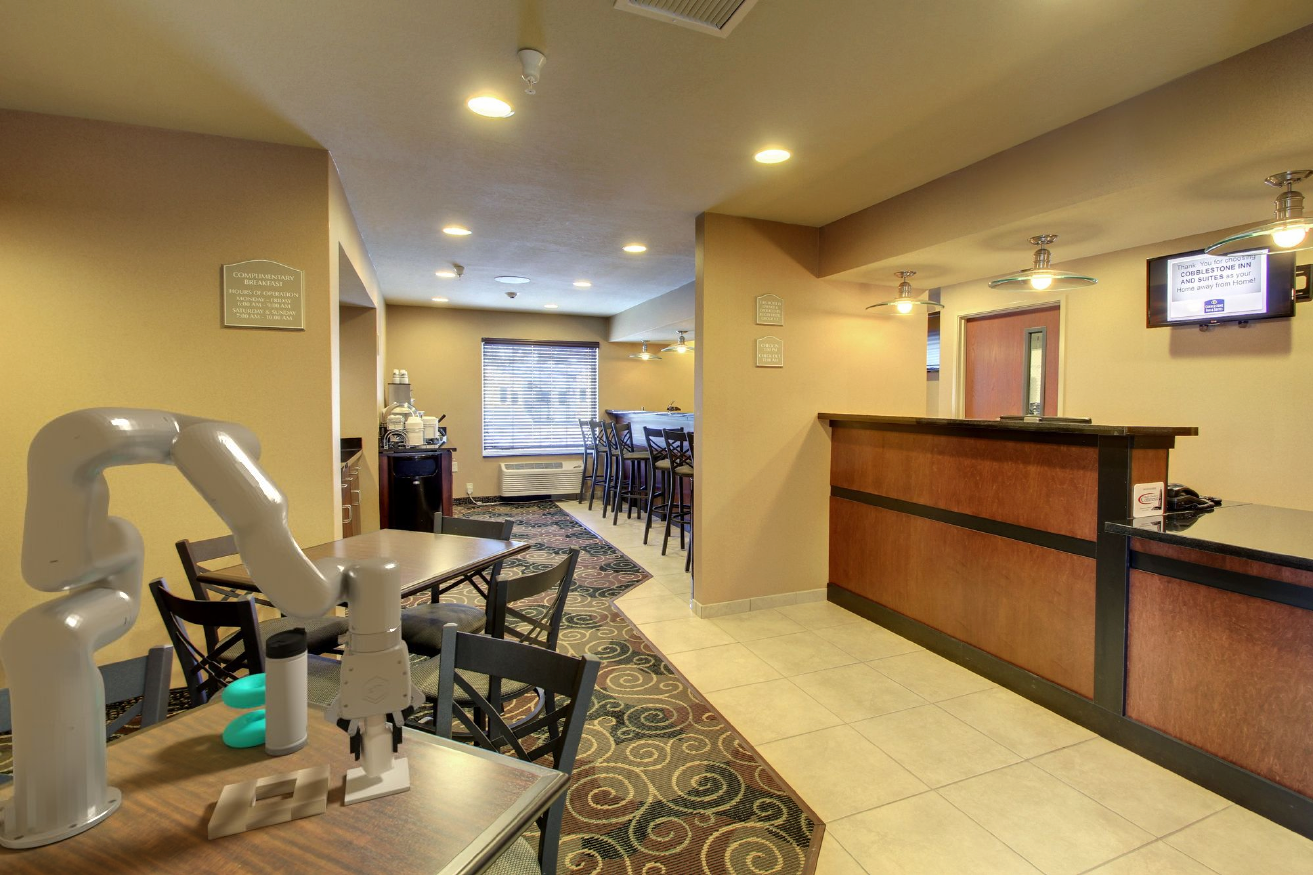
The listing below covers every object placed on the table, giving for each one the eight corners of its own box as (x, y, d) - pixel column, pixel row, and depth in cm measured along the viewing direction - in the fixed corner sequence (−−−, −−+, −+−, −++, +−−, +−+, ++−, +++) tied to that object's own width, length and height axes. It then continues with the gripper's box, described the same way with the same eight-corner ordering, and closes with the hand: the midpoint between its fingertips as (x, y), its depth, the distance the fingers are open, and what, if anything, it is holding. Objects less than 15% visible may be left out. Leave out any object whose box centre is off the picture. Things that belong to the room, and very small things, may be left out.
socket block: (208, 839, 82) (207, 825, 82) (225, 798, 91) (224, 785, 91) (325, 812, 88) (324, 798, 88) (330, 775, 97) (329, 763, 97)
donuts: (265, 666, 116) (299, 675, 112) (266, 718, 117) (300, 729, 112) (209, 687, 107) (243, 698, 103) (210, 743, 108) (244, 756, 103)
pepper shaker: (369, 780, 93) (365, 720, 93) (361, 770, 96) (357, 711, 96) (396, 769, 96) (392, 710, 95) (387, 759, 99) (383, 702, 98)
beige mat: (344, 805, 90) (344, 801, 90) (347, 773, 98) (347, 770, 98) (410, 789, 94) (410, 786, 94) (407, 760, 102) (407, 757, 102)
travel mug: (316, 738, 109) (316, 628, 109) (288, 758, 103) (288, 641, 102) (286, 734, 110) (286, 625, 110) (256, 754, 104) (256, 638, 103)
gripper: (311, 655, 88) (312, 778, 89) (434, 637, 95) (435, 752, 96) (315, 638, 95) (317, 753, 95) (430, 623, 102) (431, 730, 103)
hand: (376, 751), depth 96 cm, fingers closed on pepper shaker, 4 cm apart
